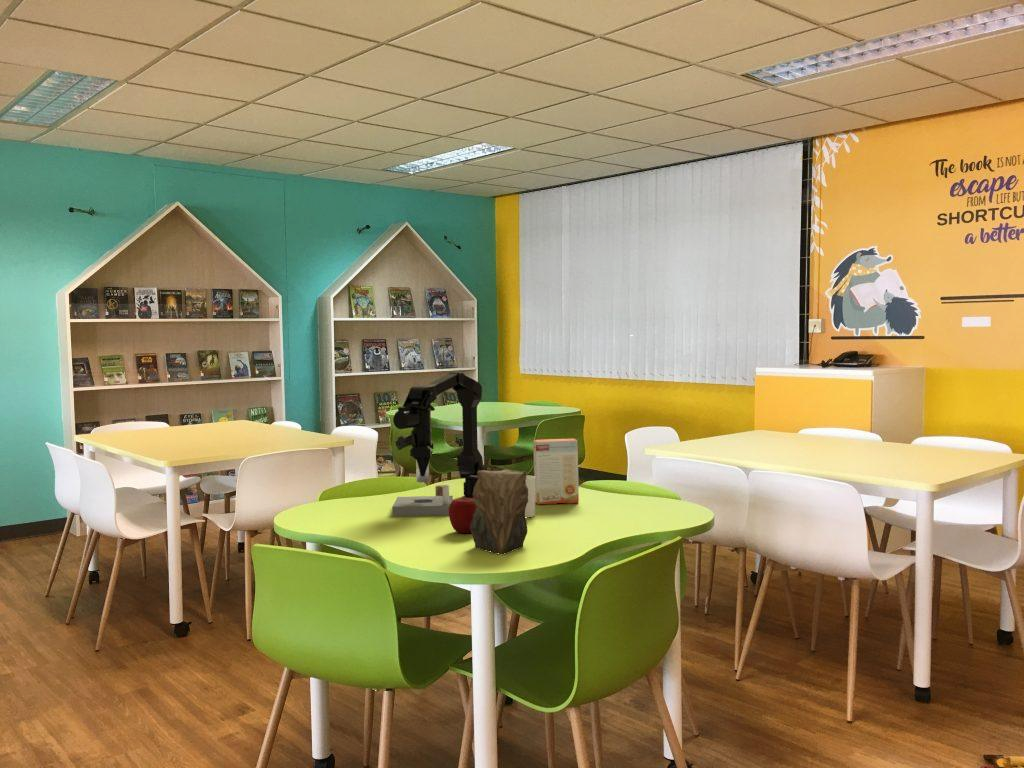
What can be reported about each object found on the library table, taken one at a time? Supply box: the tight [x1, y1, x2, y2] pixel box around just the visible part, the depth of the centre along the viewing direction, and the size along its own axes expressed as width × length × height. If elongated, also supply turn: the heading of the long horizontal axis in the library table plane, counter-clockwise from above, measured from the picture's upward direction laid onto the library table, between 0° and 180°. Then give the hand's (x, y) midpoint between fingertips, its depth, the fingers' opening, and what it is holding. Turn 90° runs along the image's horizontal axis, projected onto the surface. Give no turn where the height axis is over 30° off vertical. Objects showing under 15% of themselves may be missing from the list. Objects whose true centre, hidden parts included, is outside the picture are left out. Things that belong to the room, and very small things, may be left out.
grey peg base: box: [391, 484, 454, 517], centre depth 267 cm, size 18×16×9 cm
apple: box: [448, 496, 477, 534], centre depth 237 cm, size 10×10×10 cm
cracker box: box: [533, 437, 580, 506], centre depth 276 cm, size 14×6×21 cm, turn 97°
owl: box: [470, 468, 528, 555], centre depth 220 cm, size 13×13×20 cm
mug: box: [525, 474, 536, 518], centre depth 256 cm, size 10×7×12 cm, turn 109°
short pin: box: [434, 484, 444, 496], centre depth 282 cm, size 4×4×5 cm
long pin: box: [415, 459, 430, 483], centre depth 267 cm, size 4×4×9 cm
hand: (423, 475), depth 267 cm, fingers closed on long pin, 4 cm apart
